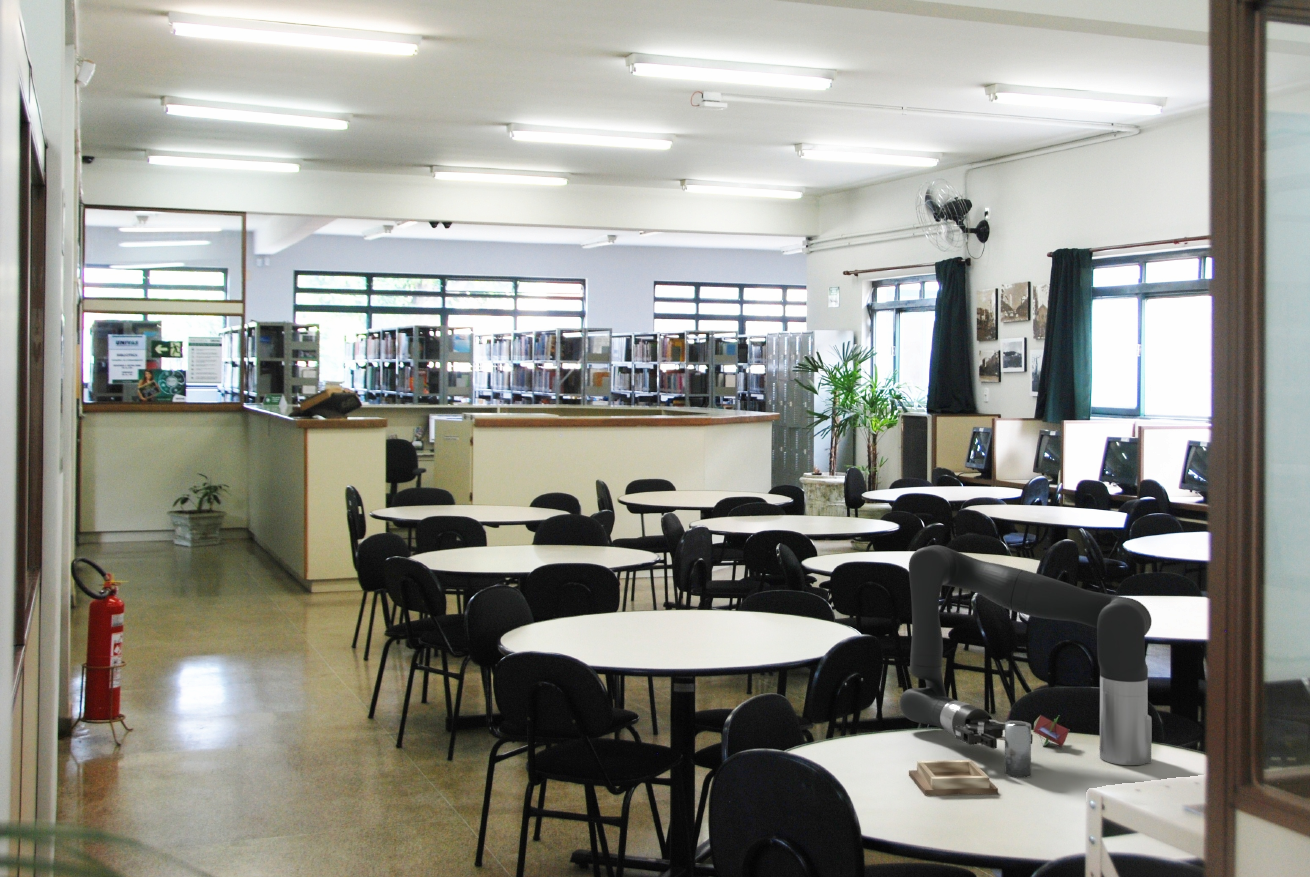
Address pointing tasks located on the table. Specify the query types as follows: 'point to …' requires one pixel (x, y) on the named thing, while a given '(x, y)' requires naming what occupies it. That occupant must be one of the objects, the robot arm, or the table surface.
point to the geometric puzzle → (1050, 730)
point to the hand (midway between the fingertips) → (1013, 741)
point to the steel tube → (1018, 749)
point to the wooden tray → (951, 778)
